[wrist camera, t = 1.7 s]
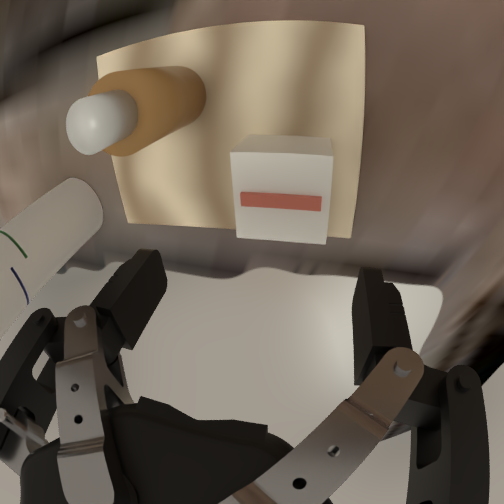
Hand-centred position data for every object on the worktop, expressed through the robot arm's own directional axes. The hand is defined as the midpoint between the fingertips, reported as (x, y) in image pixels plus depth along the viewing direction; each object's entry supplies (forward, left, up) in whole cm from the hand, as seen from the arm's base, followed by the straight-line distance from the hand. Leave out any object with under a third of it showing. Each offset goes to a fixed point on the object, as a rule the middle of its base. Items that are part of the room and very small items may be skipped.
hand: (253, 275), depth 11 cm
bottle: (+8, -6, -11) cm, 15 cm away
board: (+5, -3, -13) cm, 14 cm away
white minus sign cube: (0, 0, -11) cm, 11 cm away
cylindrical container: (+23, +4, -13) cm, 26 cm away
